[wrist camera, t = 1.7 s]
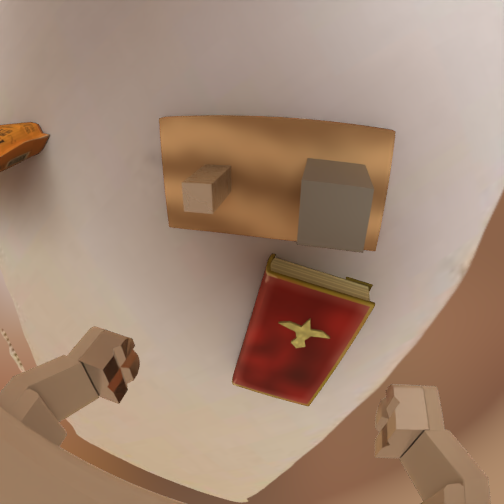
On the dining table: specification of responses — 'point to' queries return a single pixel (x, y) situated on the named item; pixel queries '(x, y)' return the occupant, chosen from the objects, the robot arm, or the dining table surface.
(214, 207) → the post
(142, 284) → the dining table surface
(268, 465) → the dining table surface
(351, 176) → the gray rectangular block
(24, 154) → the pancake mix bag
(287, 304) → the hardcover book
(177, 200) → the board
